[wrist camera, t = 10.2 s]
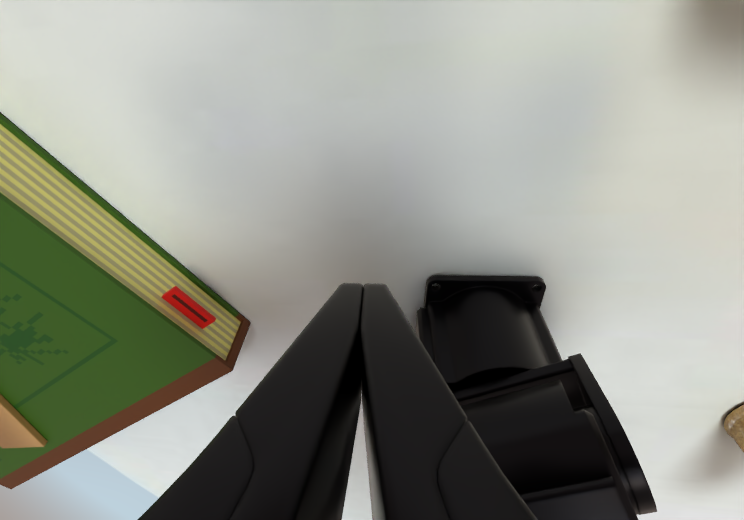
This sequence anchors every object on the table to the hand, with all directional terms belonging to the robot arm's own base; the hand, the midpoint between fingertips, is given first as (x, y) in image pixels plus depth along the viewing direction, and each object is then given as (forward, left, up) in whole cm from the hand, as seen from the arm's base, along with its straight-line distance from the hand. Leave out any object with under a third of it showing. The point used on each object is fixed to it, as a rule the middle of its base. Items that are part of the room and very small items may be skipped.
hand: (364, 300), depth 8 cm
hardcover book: (+23, +12, -13) cm, 29 cm away
